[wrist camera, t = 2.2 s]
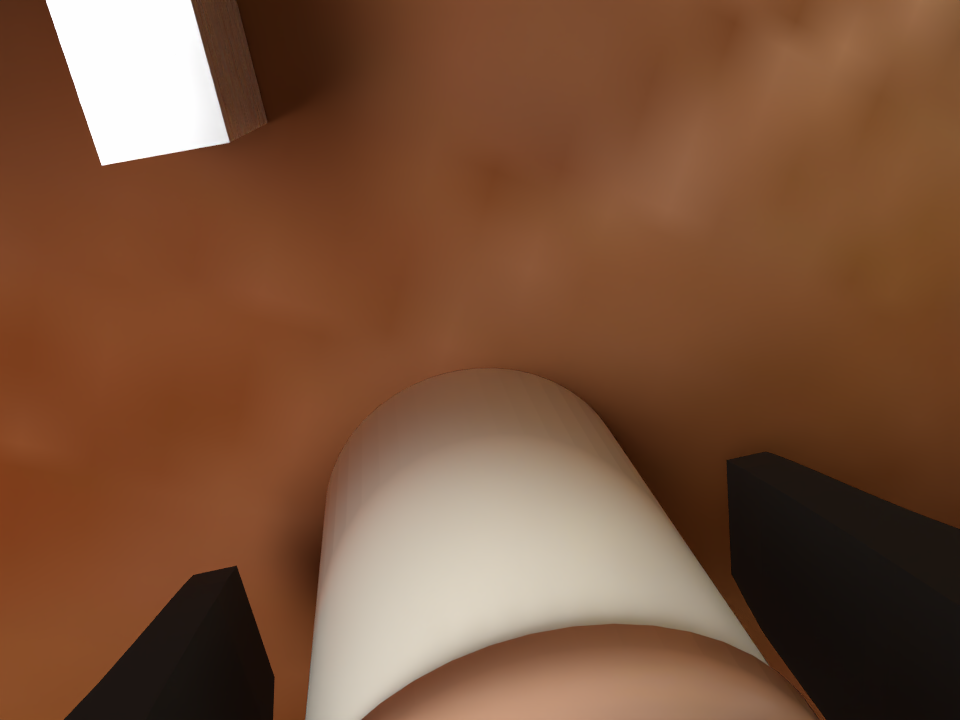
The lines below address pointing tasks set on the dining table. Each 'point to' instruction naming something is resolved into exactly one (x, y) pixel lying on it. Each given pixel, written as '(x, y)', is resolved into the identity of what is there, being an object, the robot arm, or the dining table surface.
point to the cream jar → (516, 573)
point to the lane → (159, 73)
